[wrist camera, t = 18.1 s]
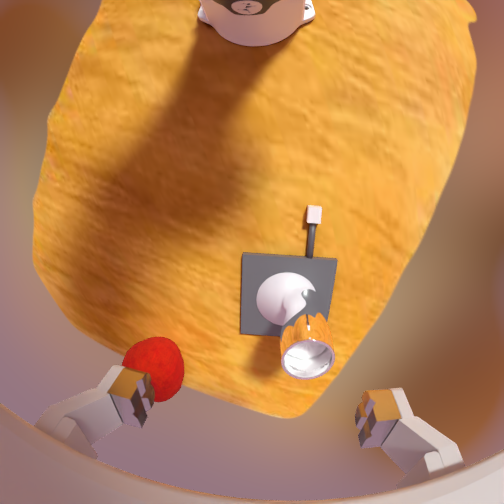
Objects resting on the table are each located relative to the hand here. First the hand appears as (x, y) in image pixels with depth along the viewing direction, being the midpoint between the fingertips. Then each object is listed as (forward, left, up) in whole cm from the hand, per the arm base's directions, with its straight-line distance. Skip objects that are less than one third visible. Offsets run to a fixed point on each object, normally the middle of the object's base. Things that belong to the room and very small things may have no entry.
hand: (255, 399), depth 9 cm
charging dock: (+10, +3, -35) cm, 37 cm away
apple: (+28, -20, -35) cm, 49 cm away
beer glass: (+14, +5, -34) cm, 37 cm away
